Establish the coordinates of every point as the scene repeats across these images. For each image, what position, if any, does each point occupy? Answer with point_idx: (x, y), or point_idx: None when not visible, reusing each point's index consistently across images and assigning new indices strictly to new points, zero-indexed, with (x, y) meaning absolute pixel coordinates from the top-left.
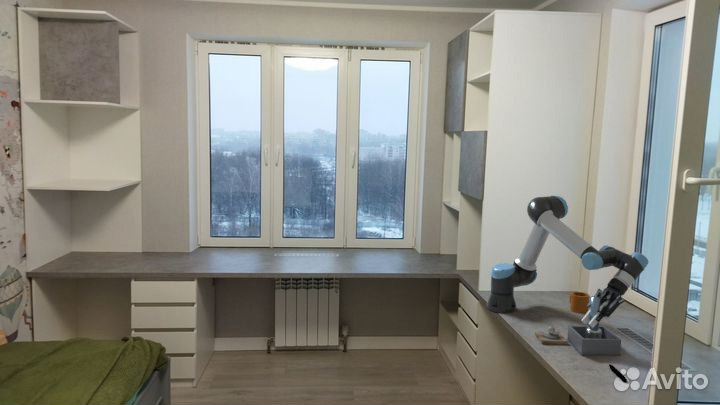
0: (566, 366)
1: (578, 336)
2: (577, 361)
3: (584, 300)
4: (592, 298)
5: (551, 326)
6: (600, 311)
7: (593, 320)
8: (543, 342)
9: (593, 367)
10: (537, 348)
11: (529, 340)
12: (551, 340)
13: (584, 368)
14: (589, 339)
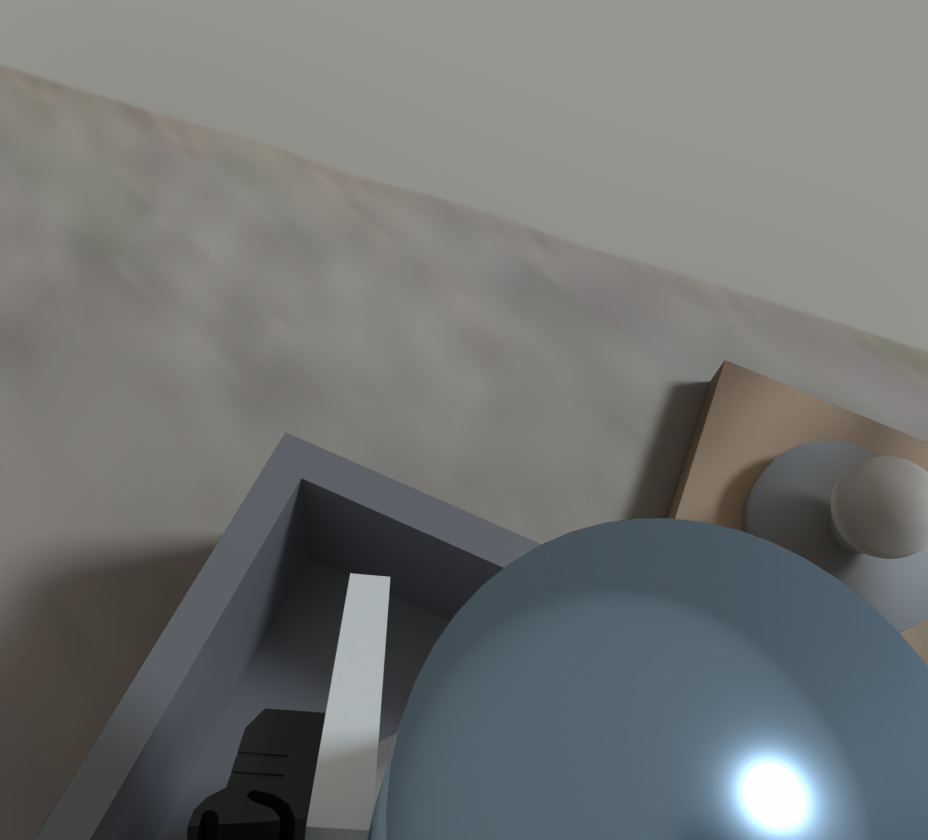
0: (179, 217)
1: (422, 497)
2: (204, 378)
3: None
4: (667, 531)
5: (913, 485)
6: (227, 809)
7: (336, 655)
8: (714, 379)
9: (2, 410)
10: (625, 274)
11: (829, 340)
12: (713, 452)
13: (46, 317)
14: (228, 526)
